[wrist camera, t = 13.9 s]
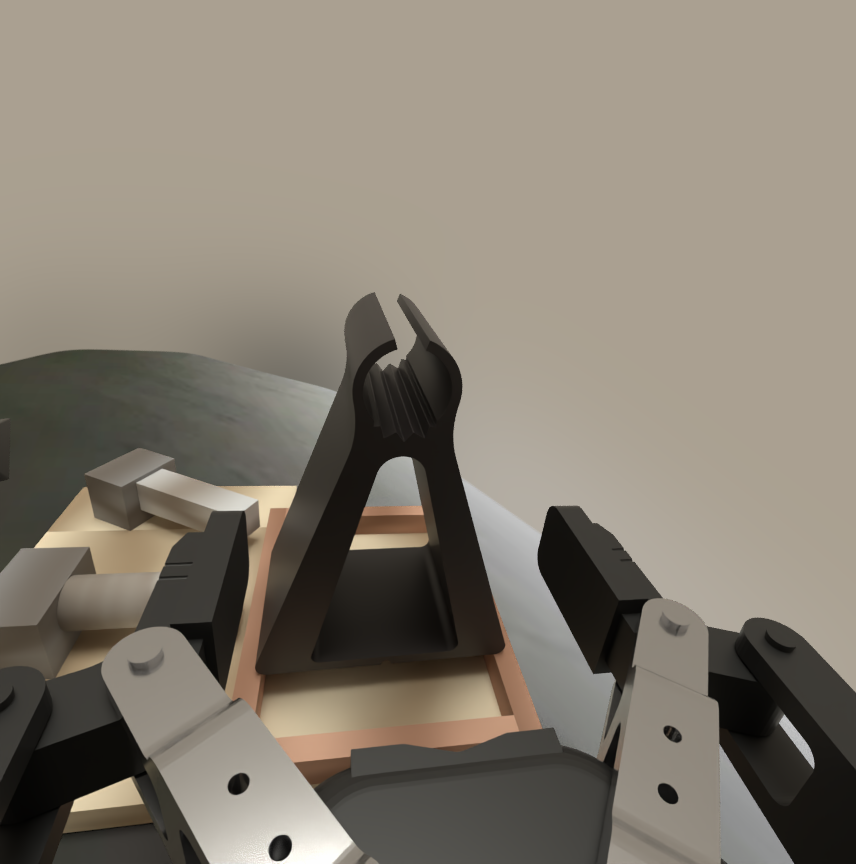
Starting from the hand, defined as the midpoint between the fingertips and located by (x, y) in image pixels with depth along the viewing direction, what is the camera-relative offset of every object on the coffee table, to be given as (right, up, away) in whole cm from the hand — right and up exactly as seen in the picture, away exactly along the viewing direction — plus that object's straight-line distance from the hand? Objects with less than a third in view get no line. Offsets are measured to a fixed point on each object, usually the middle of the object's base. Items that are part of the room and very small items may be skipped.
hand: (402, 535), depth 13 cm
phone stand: (-1, -5, +8) cm, 9 cm away
